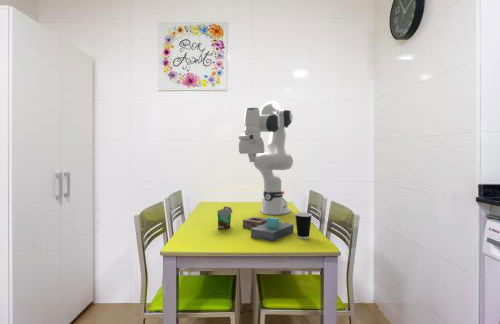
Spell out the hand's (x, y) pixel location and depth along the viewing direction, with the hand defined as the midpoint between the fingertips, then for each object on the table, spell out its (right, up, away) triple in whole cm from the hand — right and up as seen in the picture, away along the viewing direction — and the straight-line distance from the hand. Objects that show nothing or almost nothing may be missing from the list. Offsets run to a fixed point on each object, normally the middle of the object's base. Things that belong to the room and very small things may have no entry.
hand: (252, 162), depth 170 cm
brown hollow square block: (+2, -34, -6) cm, 35 cm away
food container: (-14, -35, -8) cm, 38 cm away
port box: (+10, -35, -21) cm, 42 cm away
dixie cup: (+24, -35, -26) cm, 50 cm away
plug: (+10, -35, -21) cm, 42 cm away
